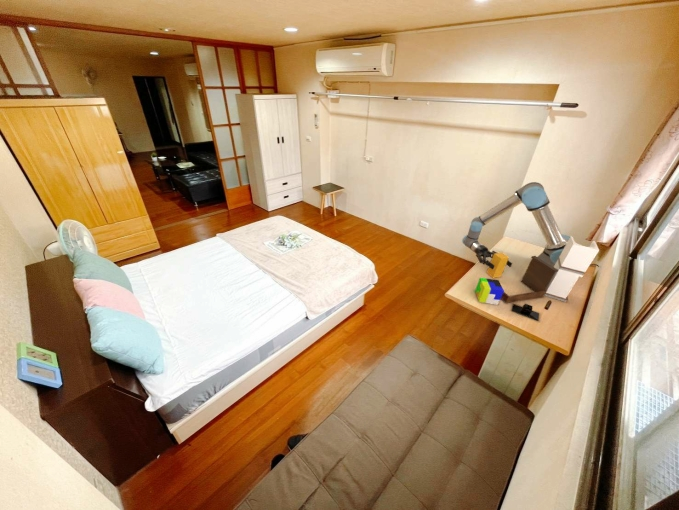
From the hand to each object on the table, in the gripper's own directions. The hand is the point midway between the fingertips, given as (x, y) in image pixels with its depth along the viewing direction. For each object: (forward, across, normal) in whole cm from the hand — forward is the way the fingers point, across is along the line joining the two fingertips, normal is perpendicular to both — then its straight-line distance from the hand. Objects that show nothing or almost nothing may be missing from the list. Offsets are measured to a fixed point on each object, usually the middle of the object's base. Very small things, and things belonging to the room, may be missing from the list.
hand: (502, 266), depth 166 cm
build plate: (+31, +8, -9) cm, 33 cm away
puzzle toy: (+16, +21, -9) cm, 28 cm away
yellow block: (-3, 0, -9) cm, 10 cm away
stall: (+15, 0, -9) cm, 17 cm away
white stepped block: (+21, -23, -9) cm, 32 cm away
